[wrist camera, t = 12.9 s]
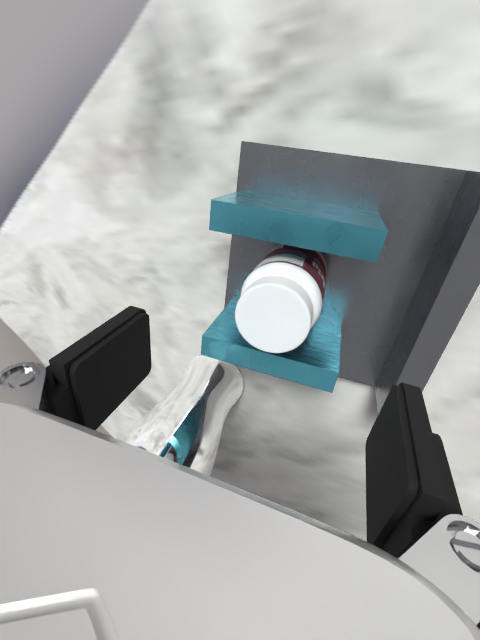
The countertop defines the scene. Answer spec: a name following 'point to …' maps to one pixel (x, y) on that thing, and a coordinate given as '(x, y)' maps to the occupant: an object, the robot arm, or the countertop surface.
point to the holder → (354, 261)
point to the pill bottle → (282, 299)
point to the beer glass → (191, 415)
